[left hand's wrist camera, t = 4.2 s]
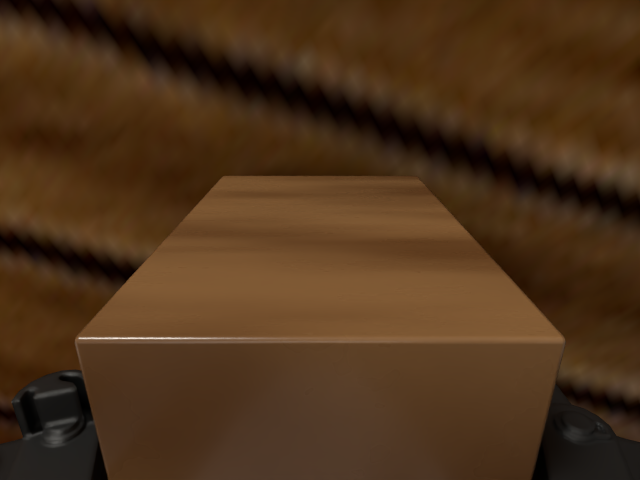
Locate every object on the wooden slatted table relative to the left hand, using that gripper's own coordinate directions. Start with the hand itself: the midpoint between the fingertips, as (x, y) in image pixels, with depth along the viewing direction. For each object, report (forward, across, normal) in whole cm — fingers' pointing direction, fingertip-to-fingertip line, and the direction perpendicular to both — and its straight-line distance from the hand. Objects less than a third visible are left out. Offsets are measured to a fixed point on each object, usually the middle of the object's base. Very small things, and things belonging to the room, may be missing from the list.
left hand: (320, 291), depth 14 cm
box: (+1, 0, -10) cm, 11 cm away
